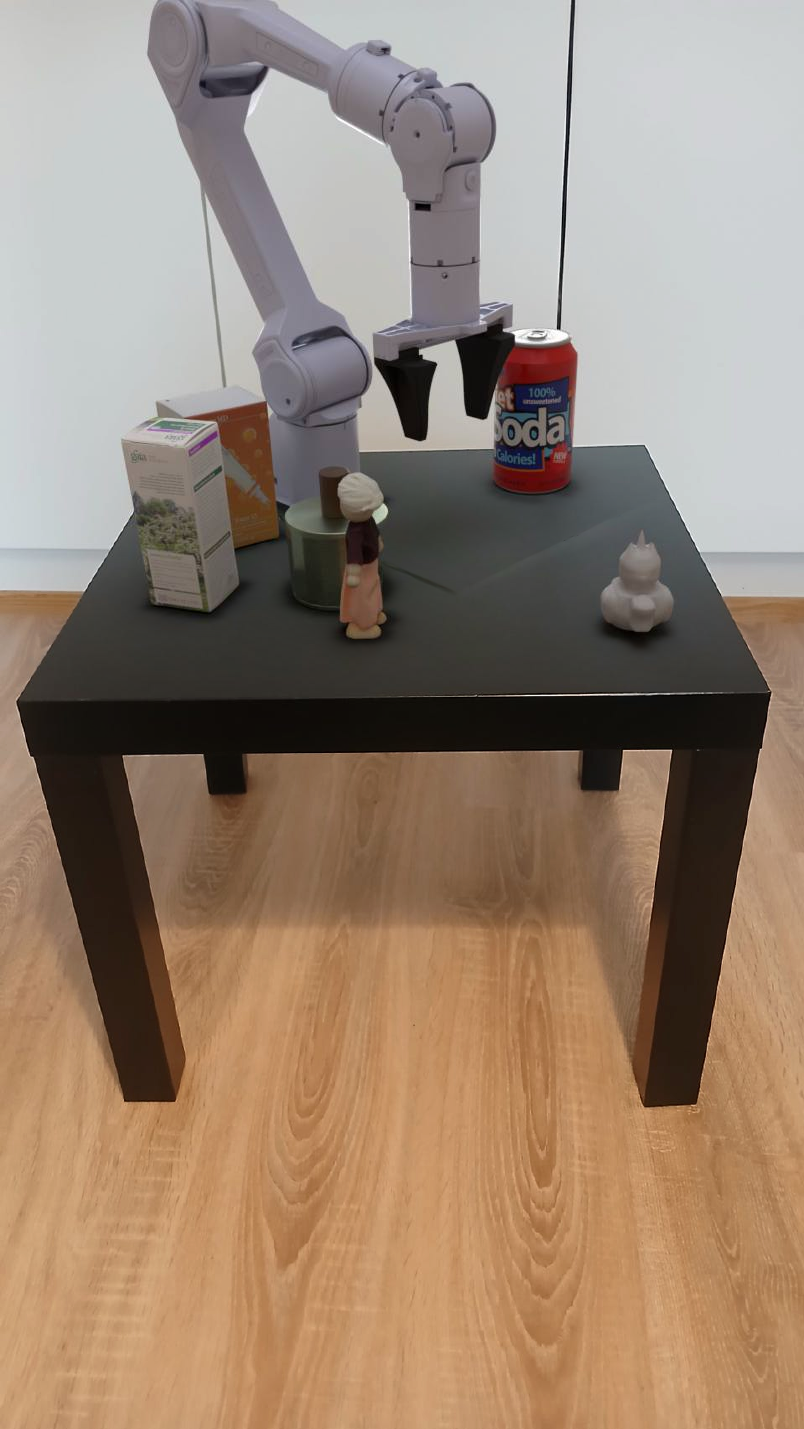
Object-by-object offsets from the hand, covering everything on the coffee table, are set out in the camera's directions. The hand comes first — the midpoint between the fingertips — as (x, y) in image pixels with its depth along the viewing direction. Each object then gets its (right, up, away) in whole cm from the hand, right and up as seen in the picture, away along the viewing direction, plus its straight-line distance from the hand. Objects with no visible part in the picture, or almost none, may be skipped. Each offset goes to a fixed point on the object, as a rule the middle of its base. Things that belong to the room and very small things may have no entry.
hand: (446, 427), depth 92 cm
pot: (-9, -15, -3) cm, 17 cm away
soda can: (+9, -2, +16) cm, 19 cm away
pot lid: (-9, -9, -6) cm, 14 cm away
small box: (-20, -9, +7) cm, 23 cm away
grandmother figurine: (-7, -18, -8) cm, 21 cm away
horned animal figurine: (+14, -19, -10) cm, 25 cm away
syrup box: (-21, -15, -3) cm, 26 cm away
